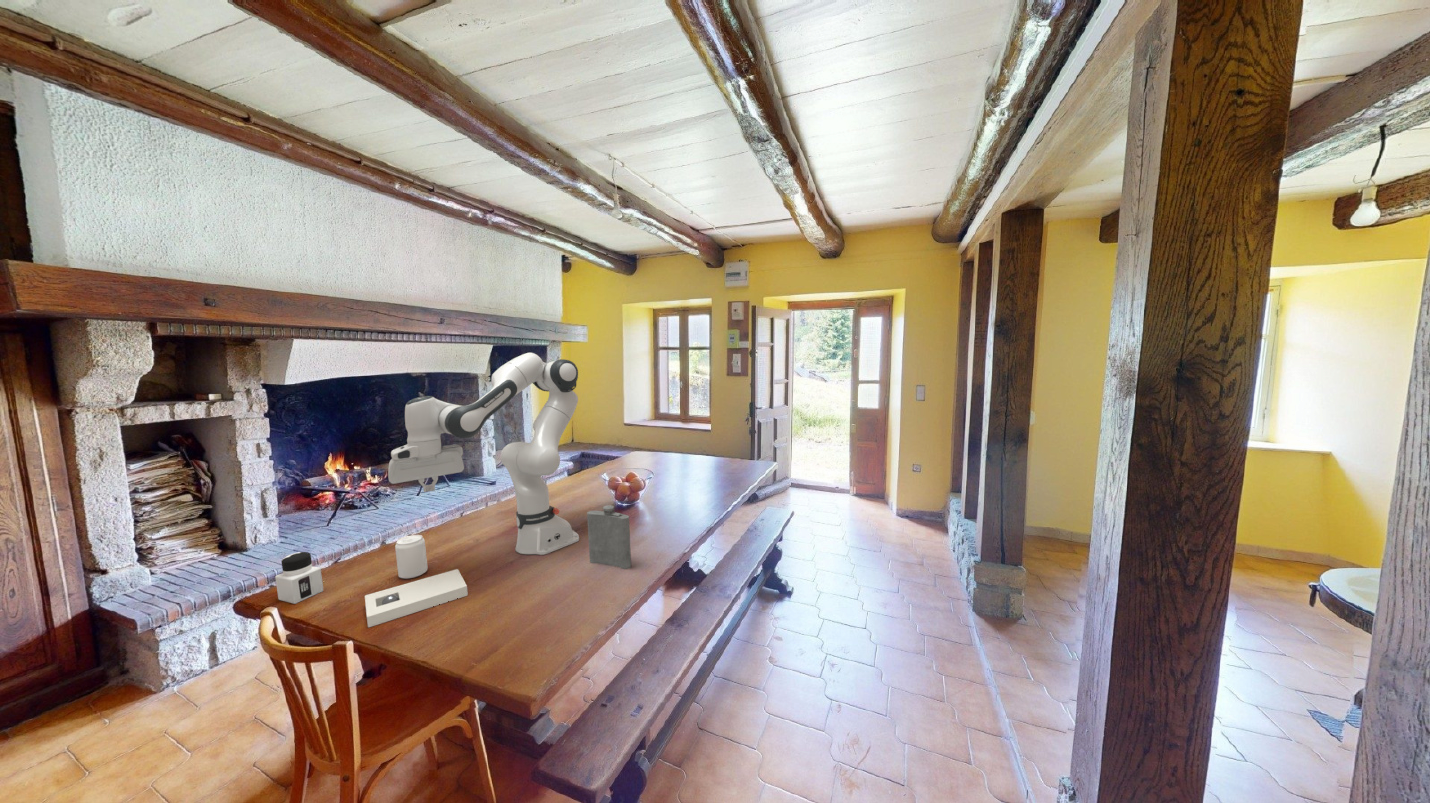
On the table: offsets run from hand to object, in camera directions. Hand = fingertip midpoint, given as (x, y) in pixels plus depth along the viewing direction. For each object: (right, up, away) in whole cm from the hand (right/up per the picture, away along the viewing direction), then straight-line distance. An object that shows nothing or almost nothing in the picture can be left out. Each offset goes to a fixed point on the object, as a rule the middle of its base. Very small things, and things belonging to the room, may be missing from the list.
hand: (429, 490), depth 145 cm
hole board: (+3, -30, -10) cm, 32 cm away
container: (-35, -31, -6) cm, 47 cm away
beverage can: (-9, -29, +6) cm, 31 cm away
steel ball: (-2, -29, -14) cm, 32 cm away
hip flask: (+55, -27, +11) cm, 62 cm away
